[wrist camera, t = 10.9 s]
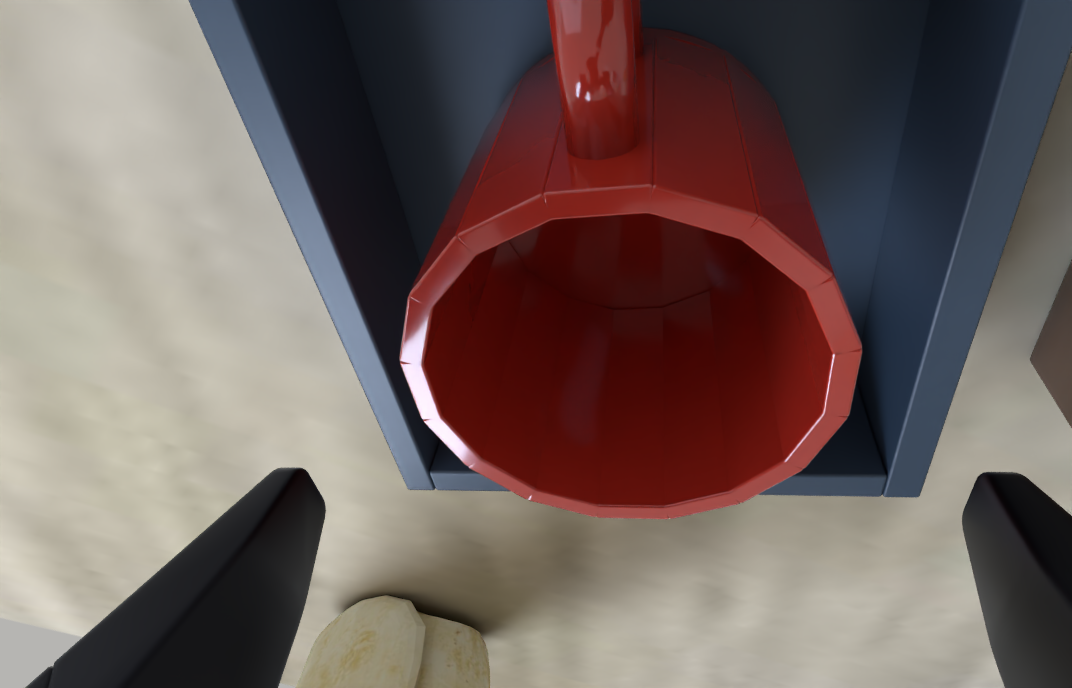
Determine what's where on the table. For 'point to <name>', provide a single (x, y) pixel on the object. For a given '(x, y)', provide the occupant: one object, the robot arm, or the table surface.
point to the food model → (395, 650)
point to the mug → (632, 284)
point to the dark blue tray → (812, 125)
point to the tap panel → (1057, 349)
